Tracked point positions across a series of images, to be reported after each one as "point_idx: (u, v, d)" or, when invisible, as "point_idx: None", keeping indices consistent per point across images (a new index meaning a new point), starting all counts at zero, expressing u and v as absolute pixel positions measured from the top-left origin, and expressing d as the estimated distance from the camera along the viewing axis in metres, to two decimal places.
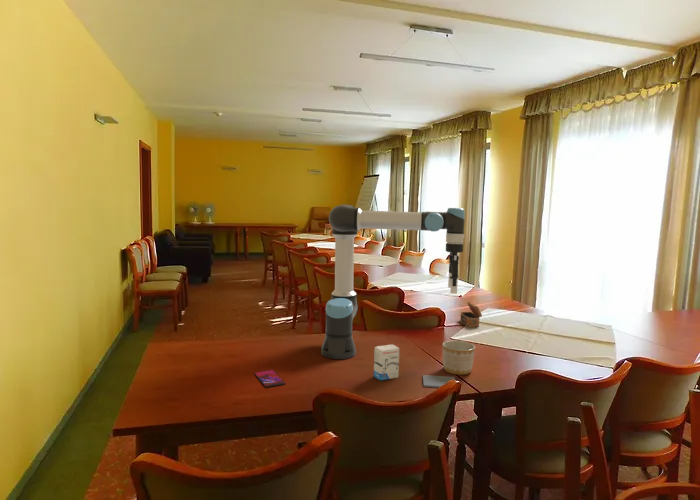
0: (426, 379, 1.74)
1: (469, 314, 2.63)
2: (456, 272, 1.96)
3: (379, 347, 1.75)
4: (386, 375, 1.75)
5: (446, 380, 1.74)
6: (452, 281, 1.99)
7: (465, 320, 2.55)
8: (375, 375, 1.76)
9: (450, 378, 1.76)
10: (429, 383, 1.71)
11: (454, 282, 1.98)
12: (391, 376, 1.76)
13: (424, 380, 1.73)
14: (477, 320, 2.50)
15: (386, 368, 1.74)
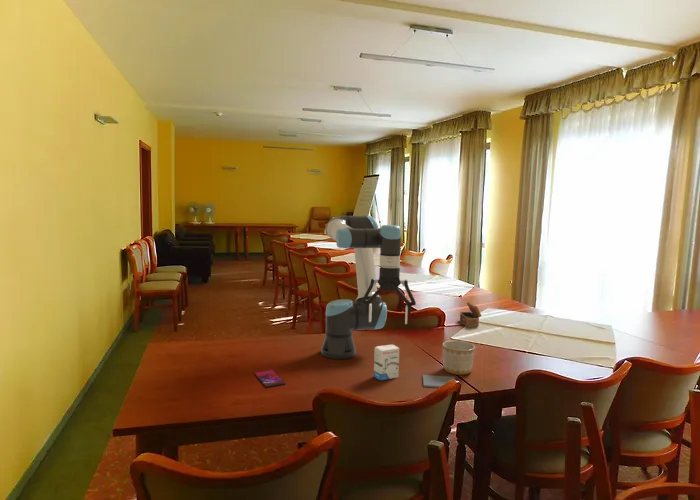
0: (426, 379, 1.74)
1: (468, 314, 2.63)
2: (363, 296, 1.75)
3: (379, 347, 1.75)
4: (386, 375, 1.75)
5: (446, 380, 1.74)
6: None
7: (464, 320, 2.55)
8: (375, 375, 1.76)
9: (450, 378, 1.76)
10: (429, 383, 1.71)
11: None
12: (391, 376, 1.76)
13: (424, 380, 1.73)
14: (476, 320, 2.50)
15: (386, 368, 1.74)
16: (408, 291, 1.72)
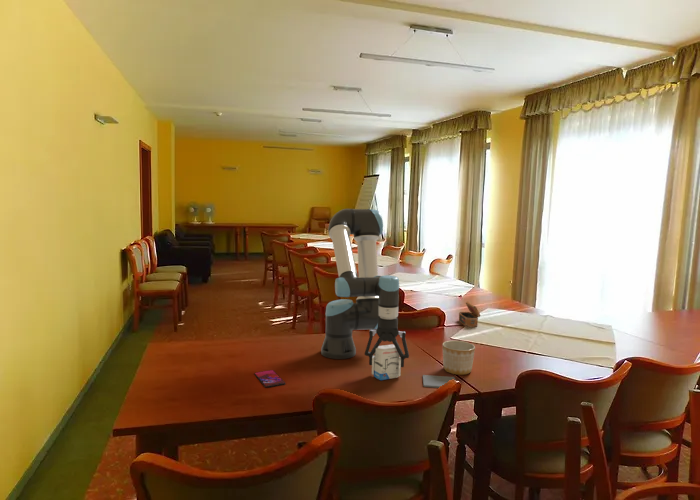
0: (426, 379, 1.74)
1: (467, 314, 2.63)
2: (366, 349, 1.77)
3: (379, 347, 1.75)
4: (386, 374, 1.75)
5: (446, 380, 1.74)
6: None
7: (463, 320, 2.55)
8: (375, 375, 1.76)
9: (450, 378, 1.76)
10: (429, 383, 1.71)
11: None
12: (391, 376, 1.76)
13: (424, 380, 1.73)
14: (475, 320, 2.50)
15: (386, 368, 1.74)
16: (404, 343, 1.74)
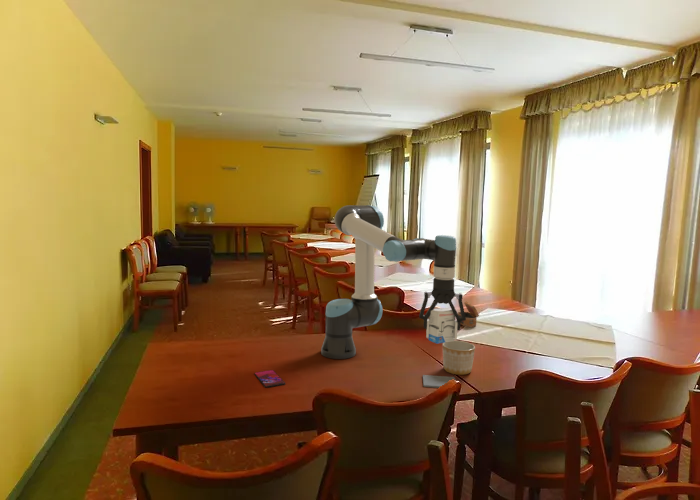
0: (426, 379, 1.74)
1: (466, 314, 2.63)
2: (420, 311, 1.71)
3: (435, 310, 1.69)
4: (442, 338, 1.68)
5: (446, 380, 1.74)
6: None
7: None
8: (430, 339, 1.70)
9: (450, 378, 1.76)
10: (429, 383, 1.71)
11: (424, 323, 1.71)
12: (447, 340, 1.69)
13: (424, 380, 1.73)
14: (474, 320, 2.50)
15: (442, 331, 1.68)
16: (461, 305, 1.68)
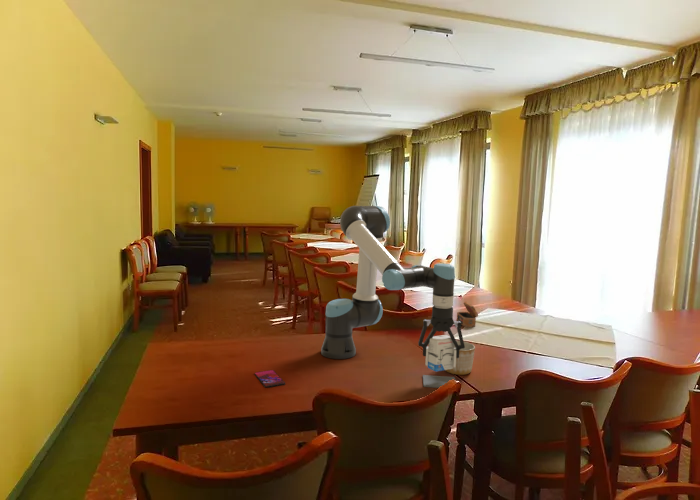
0: (426, 379, 1.74)
1: (465, 314, 2.63)
2: (419, 339, 1.72)
3: (434, 338, 1.70)
4: (442, 366, 1.69)
5: (446, 380, 1.74)
6: None
7: (461, 320, 2.55)
8: (429, 366, 1.71)
9: (450, 378, 1.76)
10: (429, 383, 1.71)
11: None
12: (446, 367, 1.71)
13: (424, 380, 1.73)
14: (473, 320, 2.50)
15: (441, 359, 1.69)
16: (460, 333, 1.69)
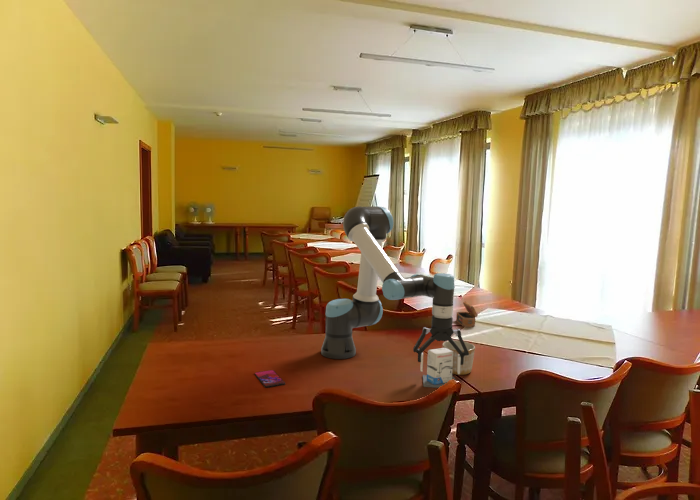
0: (426, 379, 1.74)
1: (465, 314, 2.63)
2: (415, 345, 1.72)
3: (433, 351, 1.71)
4: (440, 379, 1.70)
5: None
6: None
7: (461, 320, 2.55)
8: (428, 379, 1.72)
9: None
10: (429, 383, 1.71)
11: None
12: (445, 380, 1.71)
13: (424, 380, 1.73)
14: (473, 320, 2.50)
15: (440, 372, 1.70)
16: (461, 341, 1.69)
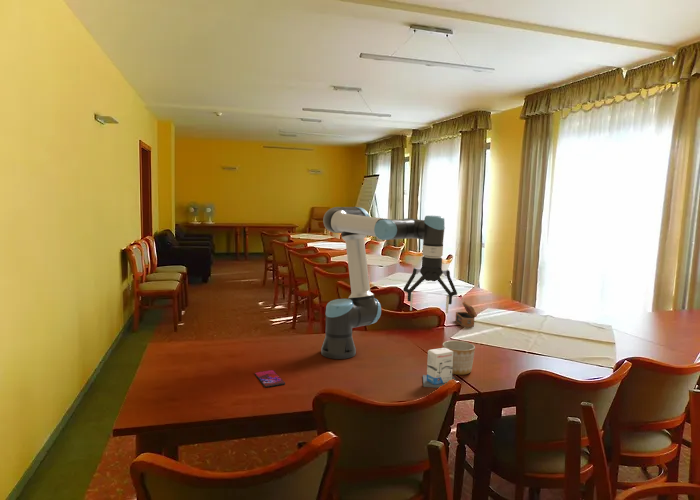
0: (426, 379, 1.74)
1: (464, 314, 2.63)
2: (405, 285, 1.78)
3: (433, 351, 1.71)
4: (440, 379, 1.70)
5: None
6: None
7: (460, 320, 2.55)
8: (428, 379, 1.72)
9: None
10: (429, 383, 1.71)
11: (408, 296, 1.79)
12: (445, 380, 1.71)
13: (424, 380, 1.73)
14: (472, 320, 2.50)
15: (440, 372, 1.70)
16: (450, 281, 1.75)
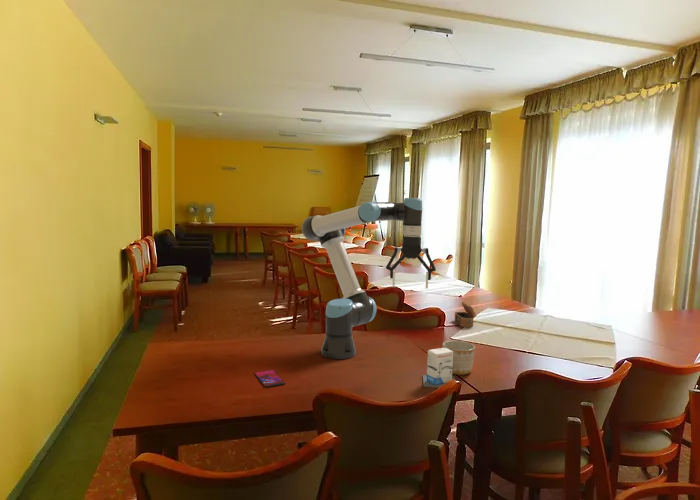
0: (426, 379, 1.74)
1: (463, 314, 2.63)
2: (388, 263, 1.91)
3: (433, 351, 1.71)
4: (440, 379, 1.70)
5: None
6: None
7: (459, 320, 2.55)
8: (428, 379, 1.72)
9: None
10: (429, 383, 1.71)
11: None
12: (445, 380, 1.71)
13: (424, 380, 1.73)
14: (471, 320, 2.50)
15: (440, 372, 1.70)
16: (429, 258, 1.88)
